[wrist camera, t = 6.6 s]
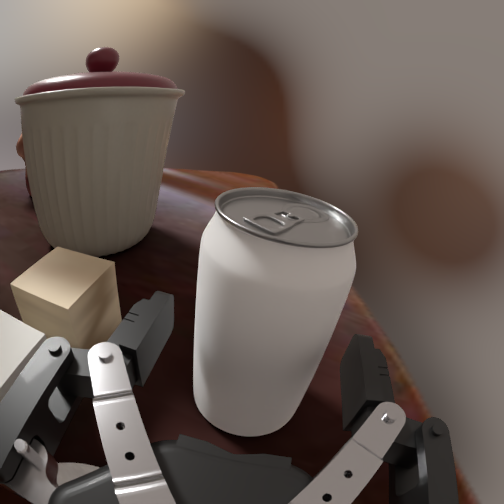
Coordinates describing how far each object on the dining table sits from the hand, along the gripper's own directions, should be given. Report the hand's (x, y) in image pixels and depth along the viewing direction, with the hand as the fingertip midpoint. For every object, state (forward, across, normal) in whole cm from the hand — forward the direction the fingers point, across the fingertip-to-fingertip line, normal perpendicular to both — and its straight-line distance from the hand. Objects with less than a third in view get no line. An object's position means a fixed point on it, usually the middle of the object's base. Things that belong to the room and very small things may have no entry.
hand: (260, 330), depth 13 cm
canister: (+16, +20, +7) cm, 27 cm away
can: (+1, 0, +7) cm, 7 cm away
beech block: (+1, +12, +7) cm, 14 cm away
